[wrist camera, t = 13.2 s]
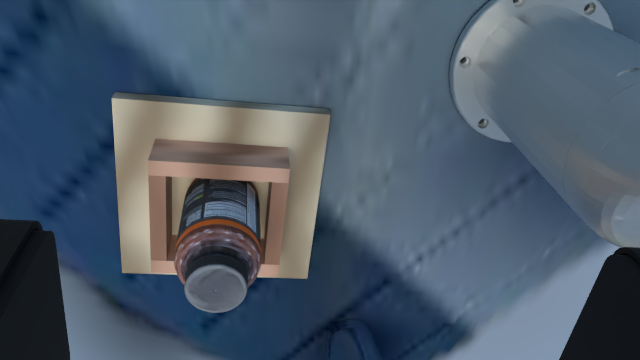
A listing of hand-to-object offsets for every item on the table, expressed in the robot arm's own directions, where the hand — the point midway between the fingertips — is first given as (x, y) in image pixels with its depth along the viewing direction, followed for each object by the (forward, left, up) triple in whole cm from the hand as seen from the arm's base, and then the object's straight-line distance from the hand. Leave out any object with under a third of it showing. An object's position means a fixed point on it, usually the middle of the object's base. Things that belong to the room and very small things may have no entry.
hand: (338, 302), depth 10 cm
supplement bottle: (+3, +18, -32) cm, 37 cm away
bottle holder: (+3, +18, -33) cm, 38 cm away
